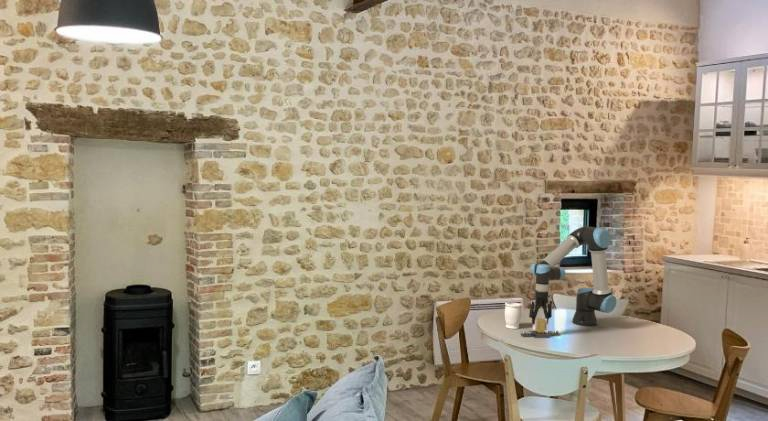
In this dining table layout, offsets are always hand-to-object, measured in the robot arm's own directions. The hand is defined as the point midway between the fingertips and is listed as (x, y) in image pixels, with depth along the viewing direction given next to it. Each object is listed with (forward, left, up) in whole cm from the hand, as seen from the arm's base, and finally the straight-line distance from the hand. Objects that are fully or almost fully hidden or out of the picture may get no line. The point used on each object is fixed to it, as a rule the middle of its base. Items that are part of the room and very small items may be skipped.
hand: (539, 329), depth 396 cm
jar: (+7, -21, -4) cm, 23 cm away
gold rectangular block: (0, 0, -4) cm, 4 cm away
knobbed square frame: (0, 0, -4) cm, 4 cm away
